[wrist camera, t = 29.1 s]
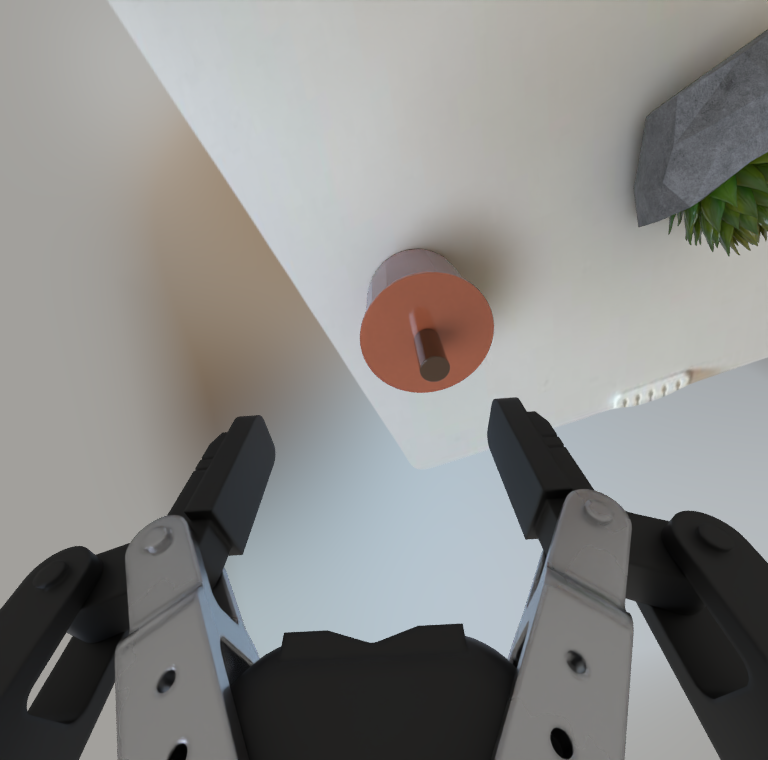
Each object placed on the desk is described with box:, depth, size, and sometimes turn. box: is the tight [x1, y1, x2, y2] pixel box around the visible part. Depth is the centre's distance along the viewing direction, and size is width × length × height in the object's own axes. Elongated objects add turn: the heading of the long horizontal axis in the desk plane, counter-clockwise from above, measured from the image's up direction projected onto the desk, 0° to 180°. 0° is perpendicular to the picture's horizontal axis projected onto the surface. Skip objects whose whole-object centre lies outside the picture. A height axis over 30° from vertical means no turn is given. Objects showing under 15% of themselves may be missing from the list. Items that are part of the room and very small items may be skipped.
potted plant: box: [634, 30, 768, 256], centre depth 25 cm, size 12×13×15 cm
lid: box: [360, 271, 494, 393], centre depth 27 cm, size 12×12×6 cm
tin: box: [366, 249, 462, 310], centre depth 33 cm, size 11×11×10 cm
